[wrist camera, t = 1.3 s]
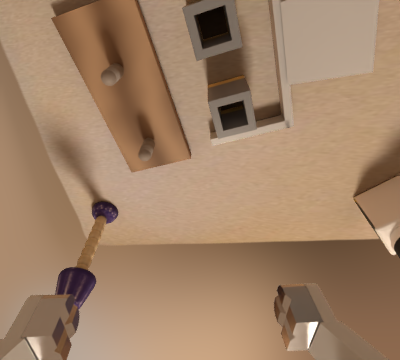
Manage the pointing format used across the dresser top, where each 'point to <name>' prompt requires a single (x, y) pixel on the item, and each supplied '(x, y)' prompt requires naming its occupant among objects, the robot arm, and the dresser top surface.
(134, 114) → the pin board
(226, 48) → the sleeve
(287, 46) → the tray
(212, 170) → the dresser top surface
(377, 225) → the medicine bottle
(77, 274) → the toy lamp
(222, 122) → the sleeve
